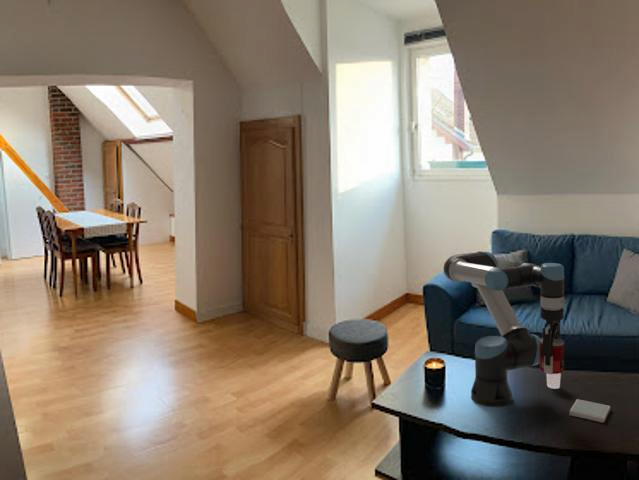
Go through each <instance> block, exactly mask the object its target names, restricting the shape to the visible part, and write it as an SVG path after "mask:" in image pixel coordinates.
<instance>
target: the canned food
mask: <svg viewBox="0 0 639 480" xmlns="http://www.w3.org/2000/svg"><path fill="white" fill-rule="evenodd" d="M542 348H543V337H542V338H540V363H539V370H541V372H543V373H544V356H542V355H541V354H542ZM552 356H553V374H559V373H561V374H562V373H563V372H564V369H565V340H564V339H562V338H561V339H559V338H558V339H555V338H554V340H553V349H552Z"/></svg>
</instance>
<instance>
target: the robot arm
mask: <svg viewBox="0 0 639 480" xmlns="http://www.w3.org/2000/svg"><path fill="white" fill-rule="evenodd" d="M443 273H444V275H445V277H446V278H447V279H448V280H450V281H453V282H456V283H462V282H467V283H471V286H472V287H473V288H477V290H478V291H479V294H480V295H481V298H482V300H483V302H484V304H485V306H486V308H487V309H488V311H489V315H490V316H491V317H492V320H493V321H494V323H495V326H496V327H497V330H498V331H499V333H500V335H488V336H483V337H481V338H479V339H478V340H477V341H476V343H475V347H474V358H475V359H474V363H475V364H474V365H475V379H474V380H473V381H474V382H473V384H472V388H471V391H470V392H471V393H470V396H471V399H472V400H473V401H474V402H475V403H477V404H480V405H481V406H485V407H486V406H488V407H504V406H506V405H509V404H511V403H512V401H513V393H512V390H511V386H510V384H509V381H508V371H513V370H518V369H524V368H531V367H533V366H534V367H535V366H538V365H540V339H541V338H540V337H539V336H538V335H536V334H533V333H532V334H531V332H530V331H529V329H528V328H527V327H525V326H523V325H521V323H520V320H519V318H518V317H517V315H516V313H515V311H514V309H513V307H512V306H511V304H510V303H509V300H508V298H507V296H506V295H505V293H504V291H503V290H508V289H515V288H516V289H517V288H524V287H525V288H526V287H532V286H533V287H536V288H539V289H540V300H539V301H540V302H539V303H540V304H539V305H540V312H539V313H540V318H541V319H543V320H544V321H545V323H544V327H543V328H542V338H543V348H542V354H541V355H542V356H544V372H543V373H544V374H546V373H547V374H553V356H552V349H553V340H554V338H555V339H558V338H559V339H562V337H561V321H562V320H564V316H565V313H564V312H565V311H564V306H565V305H564V304H565V303H566V299H565V297H564V296H565V267H564V265H563V264H561V263H559V262H558V263H555V262H545V263H541V264H540V265H537V264H535V263H531V262H524V263H522V264H520V265H519V266H513V267H499V262H498V260H497V258H496V256H495V255H494V254H492V253H491V252H489V251H482V250H481V251H476V252H468V253H467V252H466V253H459V254H453V255H452V256H450V257H449V258H447V259H446V260H445V262H444V264H443Z"/></svg>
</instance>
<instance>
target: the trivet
mask: <svg viewBox="0 0 639 480" xmlns="http://www.w3.org/2000/svg"><path fill="white" fill-rule="evenodd" d="M610 411H611V406H610V405H606V404H602V403H598V402H594V401H588V400H582V399H578V398H577V399H576V400H575V402H574V403H573V405H572V406H571V408H570V409H569V416H571V417H572V416H573V417H577V418H580V419H585V420H589V421H595V422H598V423H603V424H604V423H605V421H606V419H607V417H608V415H609V413H610Z"/></svg>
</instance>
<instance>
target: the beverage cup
mask: <svg viewBox="0 0 639 480" xmlns="http://www.w3.org/2000/svg"><path fill="white" fill-rule="evenodd" d="M545 374H546V386H547V387H548V388H550V389H554V390H555V389H560V388H561V378H562V373H559V374H547V373H545Z"/></svg>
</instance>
